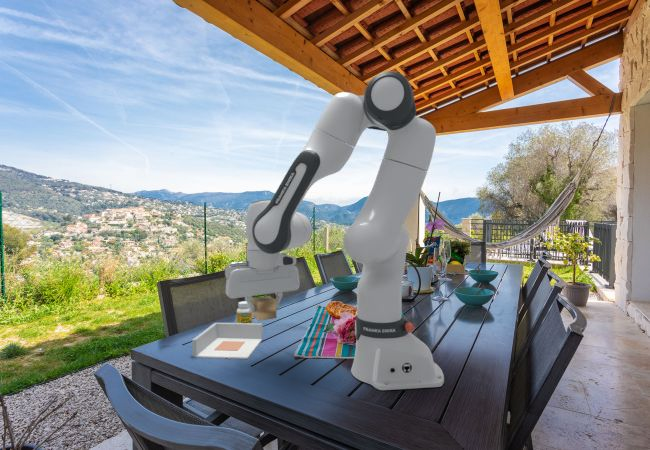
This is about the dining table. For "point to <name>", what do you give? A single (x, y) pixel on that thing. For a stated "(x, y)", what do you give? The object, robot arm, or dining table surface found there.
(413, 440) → the dining table surface
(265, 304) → the oak cube
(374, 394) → the dining table surface
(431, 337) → the dining table surface
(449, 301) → the dining table surface
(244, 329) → the corner arena
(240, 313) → the supplement bottle
